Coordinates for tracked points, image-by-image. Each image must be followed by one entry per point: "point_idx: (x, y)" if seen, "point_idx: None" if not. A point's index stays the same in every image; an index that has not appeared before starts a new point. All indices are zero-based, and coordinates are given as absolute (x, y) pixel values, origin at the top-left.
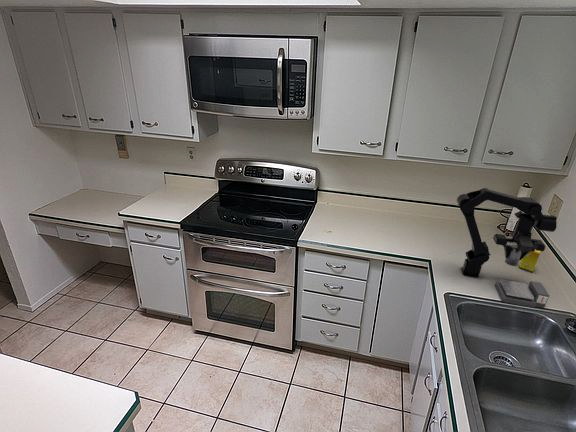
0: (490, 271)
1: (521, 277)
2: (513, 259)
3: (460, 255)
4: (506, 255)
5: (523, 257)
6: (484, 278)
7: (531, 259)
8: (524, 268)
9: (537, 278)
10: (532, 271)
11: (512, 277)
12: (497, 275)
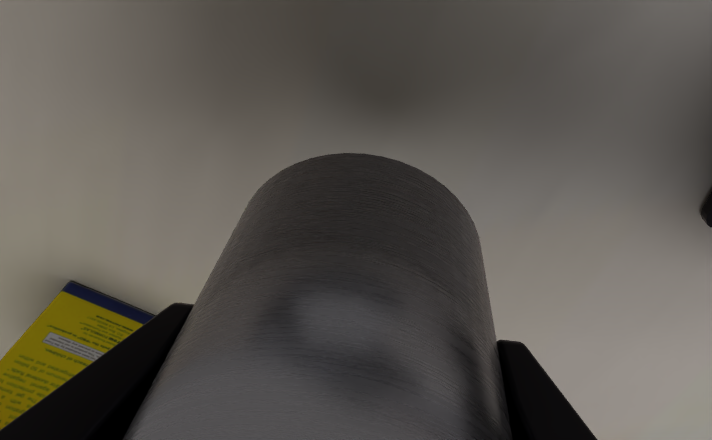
0: (499, 232)
1: (181, 185)
2: (388, 278)
3: (675, 431)
4: (569, 422)
5: None
6: (688, 53)
7: None
8: (131, 321)
9: (27, 200)
10: (65, 291)
11: (280, 163)
12: (450, 168)
